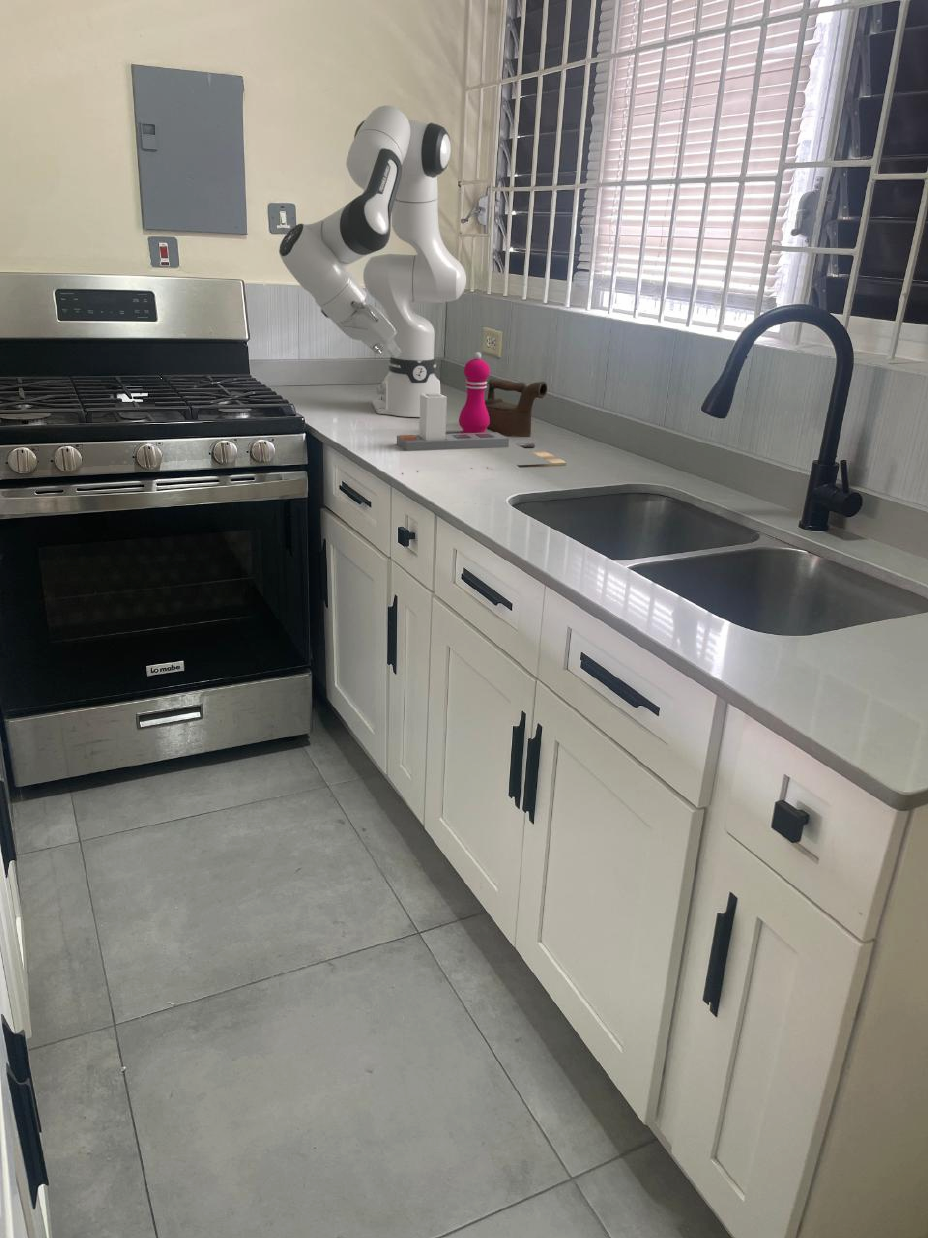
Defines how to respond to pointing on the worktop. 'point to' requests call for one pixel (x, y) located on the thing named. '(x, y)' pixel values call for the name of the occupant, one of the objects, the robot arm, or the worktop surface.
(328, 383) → the worktop surface
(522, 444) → the power strip
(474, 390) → the pepper mill
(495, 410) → the clothes iron
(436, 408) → the block
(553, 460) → the tan flat angled piece
